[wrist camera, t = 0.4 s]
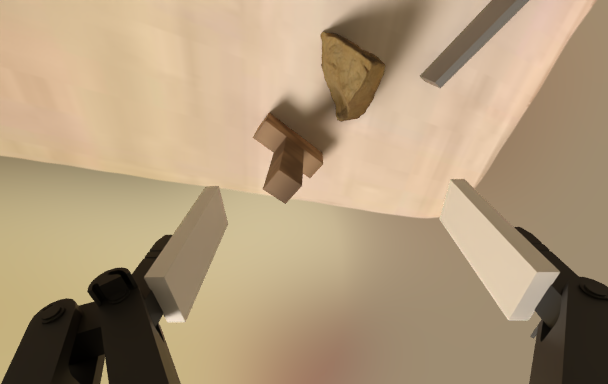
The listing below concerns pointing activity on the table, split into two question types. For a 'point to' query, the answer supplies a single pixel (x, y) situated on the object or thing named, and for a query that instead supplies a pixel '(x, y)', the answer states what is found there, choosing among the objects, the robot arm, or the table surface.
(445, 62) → the box
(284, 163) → the brown t-shaped block
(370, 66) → the rock
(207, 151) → the table surface
